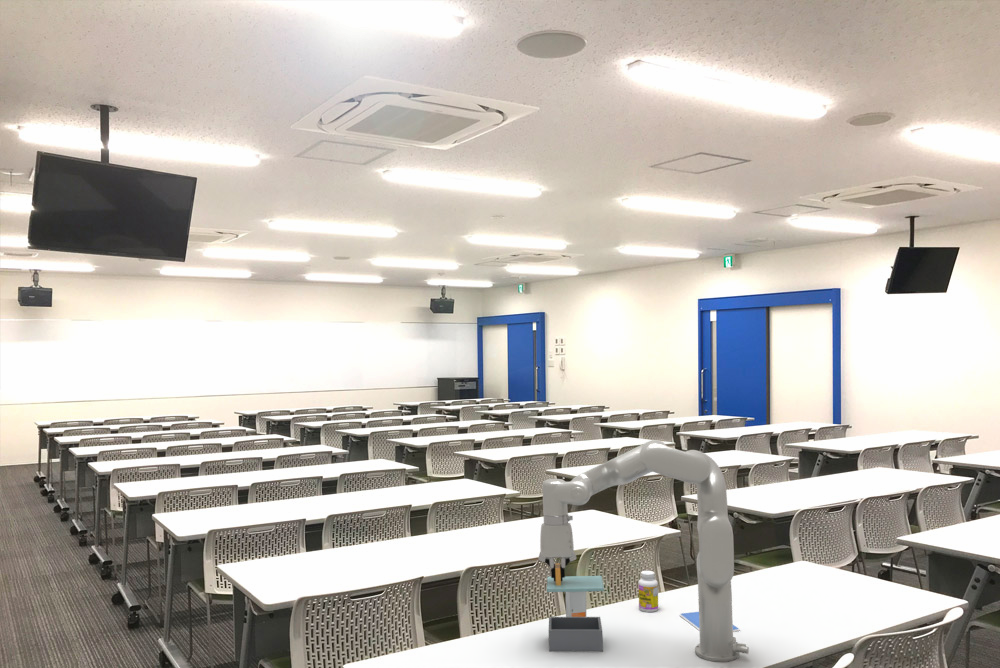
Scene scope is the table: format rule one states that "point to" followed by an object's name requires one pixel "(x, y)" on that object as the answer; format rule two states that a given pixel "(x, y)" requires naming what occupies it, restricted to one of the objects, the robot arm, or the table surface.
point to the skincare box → (575, 604)
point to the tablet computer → (694, 620)
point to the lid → (574, 583)
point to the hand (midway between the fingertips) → (558, 579)
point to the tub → (575, 634)
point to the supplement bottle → (648, 592)
